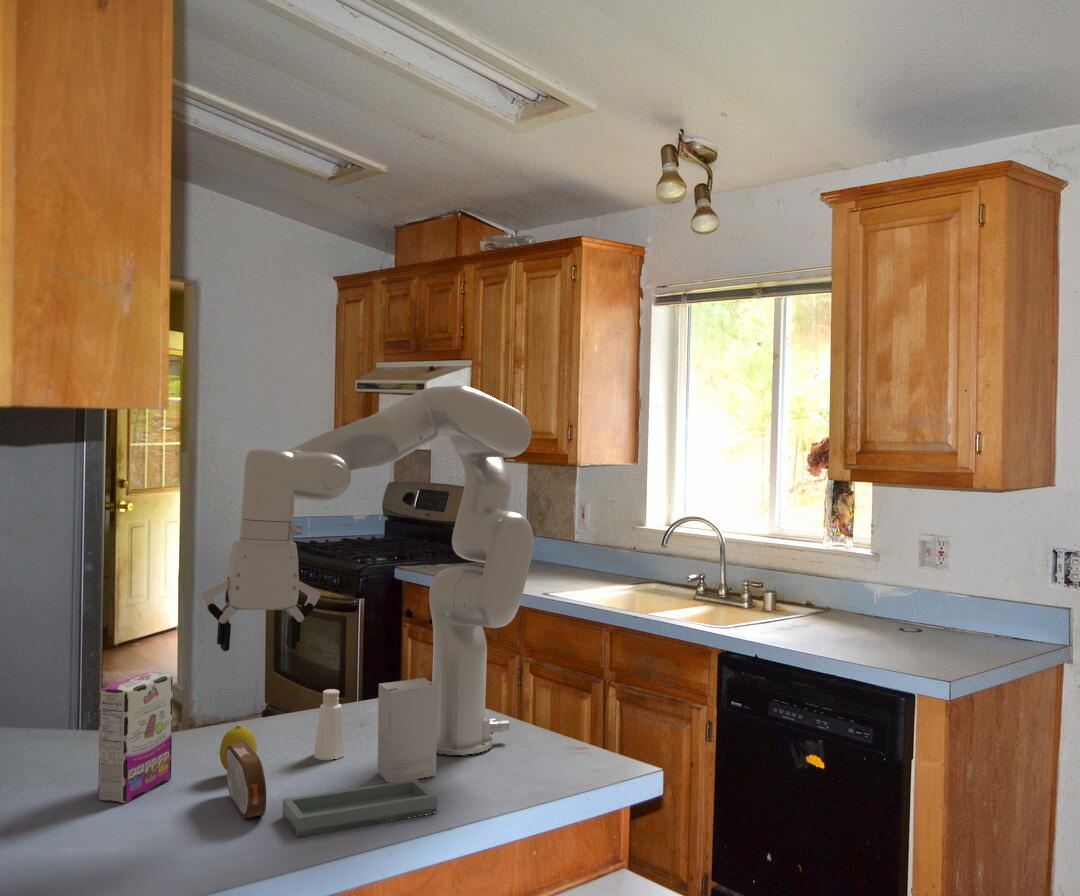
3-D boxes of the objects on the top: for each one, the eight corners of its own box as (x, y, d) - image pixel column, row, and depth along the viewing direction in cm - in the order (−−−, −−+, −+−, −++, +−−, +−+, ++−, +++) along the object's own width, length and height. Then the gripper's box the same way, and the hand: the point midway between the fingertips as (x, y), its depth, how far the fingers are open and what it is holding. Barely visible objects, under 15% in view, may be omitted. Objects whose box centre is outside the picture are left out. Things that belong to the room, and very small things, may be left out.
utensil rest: (415, 795, 142) (416, 778, 142) (436, 813, 135) (437, 795, 135) (282, 817, 132) (282, 799, 133) (297, 837, 126) (298, 818, 126)
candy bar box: (143, 776, 148) (147, 671, 148) (172, 779, 146) (175, 673, 147) (94, 801, 137) (98, 687, 137) (124, 805, 136) (128, 690, 136)
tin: (267, 824, 130) (269, 762, 130) (244, 828, 128) (246, 765, 129) (243, 789, 143) (245, 734, 143) (221, 793, 142) (223, 736, 142)
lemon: (242, 767, 153) (244, 718, 153) (262, 775, 149) (264, 725, 149) (211, 776, 149) (213, 725, 149) (231, 784, 145) (233, 732, 145)
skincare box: (423, 766, 156) (425, 676, 156) (437, 778, 151) (440, 684, 151) (374, 773, 152) (377, 681, 152) (387, 785, 146) (390, 689, 147)
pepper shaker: (307, 759, 158) (309, 693, 158) (320, 749, 163) (322, 686, 164) (338, 761, 157) (340, 695, 157) (350, 752, 162) (352, 688, 163)
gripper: (317, 532, 148) (309, 642, 147) (201, 529, 139) (192, 646, 139) (330, 536, 141) (323, 651, 140) (210, 532, 133) (201, 655, 132)
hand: (258, 648), depth 139 cm, fingers open, 9 cm apart
